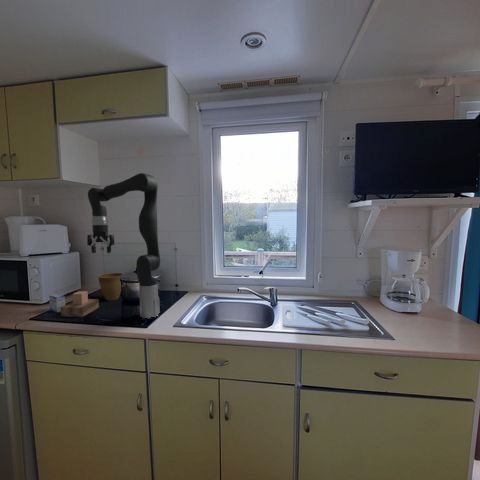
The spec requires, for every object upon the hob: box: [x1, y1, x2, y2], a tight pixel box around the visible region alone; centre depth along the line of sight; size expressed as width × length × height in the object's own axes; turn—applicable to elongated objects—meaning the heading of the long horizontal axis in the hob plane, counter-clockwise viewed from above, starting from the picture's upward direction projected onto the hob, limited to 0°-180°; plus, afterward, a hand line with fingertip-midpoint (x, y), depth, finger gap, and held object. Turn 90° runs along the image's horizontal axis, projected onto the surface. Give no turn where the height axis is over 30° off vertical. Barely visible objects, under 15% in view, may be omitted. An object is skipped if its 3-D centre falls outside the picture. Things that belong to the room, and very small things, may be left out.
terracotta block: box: [72, 290, 89, 305], centre depth 137 cm, size 5×5×6 cm
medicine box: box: [49, 293, 66, 313], centre depth 140 cm, size 8×4×9 cm, turn 62°
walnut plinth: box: [60, 298, 100, 318], centre depth 138 cm, size 12×14×5 cm
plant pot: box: [97, 272, 125, 301], centre depth 160 cm, size 15×15×16 cm
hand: (101, 252), depth 139 cm, fingers open, 8 cm apart
